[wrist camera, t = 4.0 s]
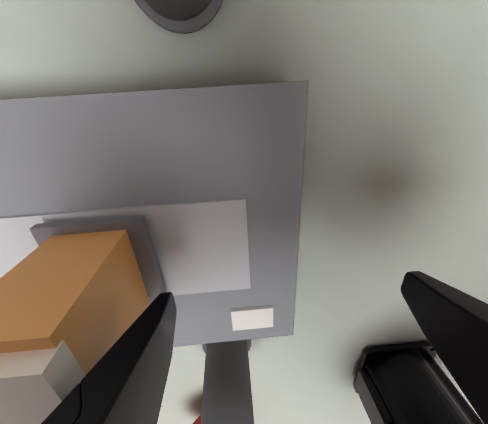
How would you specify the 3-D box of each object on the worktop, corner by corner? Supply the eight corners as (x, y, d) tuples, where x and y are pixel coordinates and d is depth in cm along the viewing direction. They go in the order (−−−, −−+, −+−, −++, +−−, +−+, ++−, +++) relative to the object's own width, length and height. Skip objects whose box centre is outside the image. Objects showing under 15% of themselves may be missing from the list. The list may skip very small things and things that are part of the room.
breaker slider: (144, 215, 10) (56, 348, 5) (167, 298, 12) (123, 450, 7) (36, 223, 10) (-172, 369, 5) (79, 306, 12) (-31, 467, 7)
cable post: (249, 320, 19) (263, 463, 11) (251, 350, 20) (265, 491, 13) (200, 325, 18) (183, 472, 11) (206, 355, 20) (195, 500, 13)
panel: (288, 82, 11) (310, 80, 8) (283, 298, 18) (294, 337, 15) (-65, 104, 11) (-171, 110, 8) (61, 318, 17) (28, 364, 14)
